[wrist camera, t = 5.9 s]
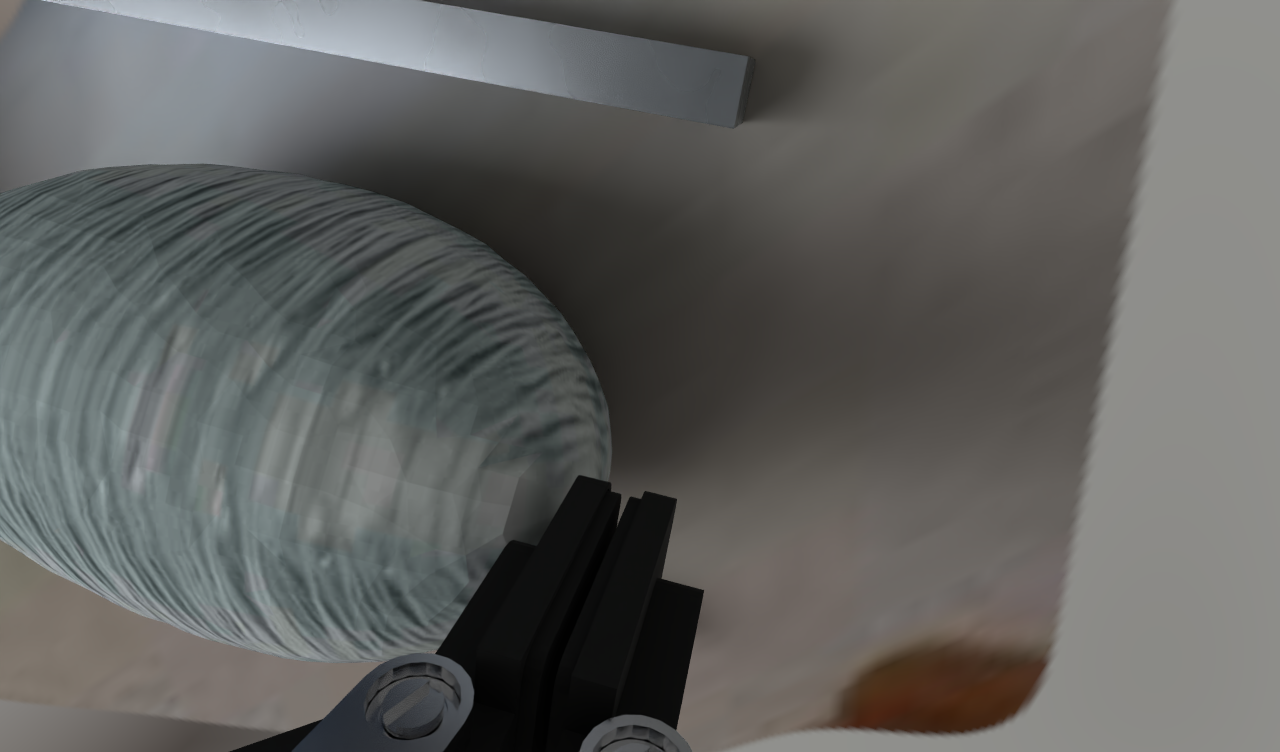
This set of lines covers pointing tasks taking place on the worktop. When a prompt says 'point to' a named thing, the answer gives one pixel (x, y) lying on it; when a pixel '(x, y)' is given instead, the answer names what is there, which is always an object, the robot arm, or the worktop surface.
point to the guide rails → (480, 49)
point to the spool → (277, 405)
